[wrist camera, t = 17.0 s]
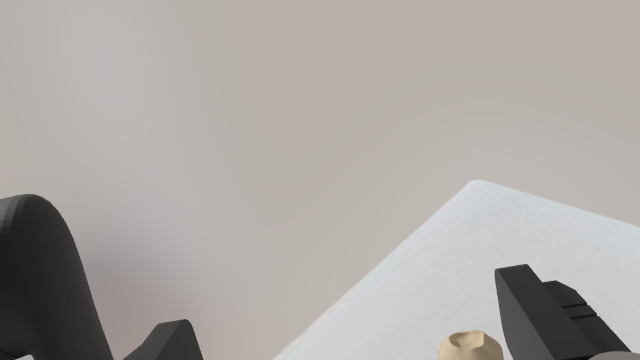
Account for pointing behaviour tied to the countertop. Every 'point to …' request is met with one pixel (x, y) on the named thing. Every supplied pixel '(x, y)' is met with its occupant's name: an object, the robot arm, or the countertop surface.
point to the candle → (470, 347)
